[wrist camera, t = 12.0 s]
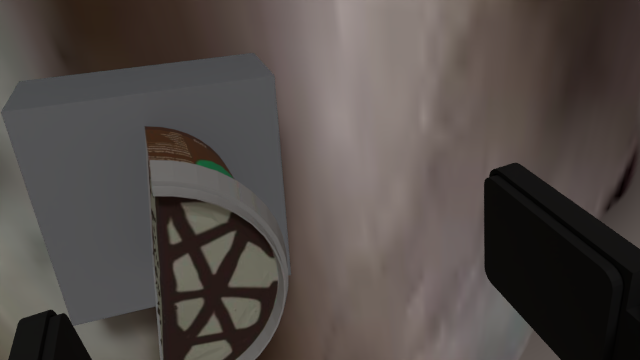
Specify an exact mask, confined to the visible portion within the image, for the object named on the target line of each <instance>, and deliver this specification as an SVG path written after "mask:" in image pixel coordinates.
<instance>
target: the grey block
mask: <svg viewBox="0 0 640 360" xmlns="http://www.w3.org/2000/svg"><path fill="white" fill-rule="evenodd" d="M1 114H2V117H3V120H4V123H5V126H6V128H7V131H8V134H9V137H10V140H11V143H12V146H13V149H14V152H15V155H16V158H17V161H18V164H19V167H20V170H21V173H22V176H23V179H24V182H25V185H26V188H27V191H28V194H29V197H30V200H31V203H32V206H33V209H34V212H35V215H36V218H37V221H38V224H39V227H40V230H41V233H42V236H43V239H44V241H45V244H46V247H47V250H48V253H49V256H50V259H51V262H52V265H53V268H54V271H55V274H56V277H57V280H58V283H59V286H60V289H61V292H62V295H63V298H64V301H65V304H66V307H67V310H68V313H69V316H70V319H71V322H72V325H73V326H74V325H79V324H83V323H87V322H92V321H96V320H100V319H104V318H109V317H113V316H117V315H121V314H126V313H130V312H134V311H138V310H143V309H147V308H151V307H155V306H156V301H155V289H154V277H153V264H152V247H151V230H150V213H149V196H148V179H147V162H146V145H145V128H144V126H150V127H164V128H170V129H175V130H178V131H181V132H184V133H187V134H190V135H192V136H194V137H196V138H198V139H200V140H201V141H203V142H204V143H205V144H207V145H208V146H210V147H211V148H212V149H213V150H214V151H215V152H216V153H217V154H218V155H219V156H220V158H221V159H222V160H223V162H224V163H225V165H226V166H227V168H228V169H229V171H230V173H231V174H232V176H233V178H234V179H235V180H237V181H238V182H240V183H241V184H242V185H244V186H245V187H247V188H248V189H249V190H251V191H252V192H253V193H254V194H255V195H256V196H257V197H258V198H259V199H260V200H261V201H262V202H263V203H264V204H265V205H266V206H267V207H268V209H269V210H270V212H271V213H272V215H273V216H274V218H275V219H276V221H277V223H278V226H279V228H280V230H281V233H282V235H283V239H284V243H285V248H286V253H287V264H288V275H291V270H290V258H289V246H288V234H287V222H286V210H285V198H284V186H283V174H282V162H281V150H280V138H279V126H278V114H277V102H276V90H275V78H274V75H273V74H272V73H271V71H270V70H269V69H268V68H267V67H266V66H265V65H264V64H263V63H262V62H261V60H260V59H259V58H258V57H257V56H256V55H255V54H254V53H250V54H241V55H233V56H225V57H217V58H209V59H200V60H192V61H184V62H176V63H167V64H159V65H151V66H143V67H134V68H126V69H118V70H110V71H101V72H93V73H85V74H77V75H69V76H60V77H52V78H44V79H36V80H27V81H19V83H18V84H17V86H16V88H15V90H14V91H13V93H12V95H11V96H10V98H9V100H8V101H7V103H6V105H5V106H4V108H3V110H2V112H1Z"/></svg>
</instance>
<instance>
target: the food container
mask: <svg viewBox="0 0 640 360" xmlns="http://www.w3.org/2000/svg"><path fill="white" fill-rule="evenodd" d="M144 128H145V145H146V162H147V179H148V196H149V213H150V230H151V247H152V264H153V277H154V289H155V301H156V313H157V325H158V337H159V349H160V360H255V359H256V358H257V357H258V356H259V355H260V354H261V352H262V351H263V350H264V348H265V347H266V346H267V344H268V343H269V342H270V340H271V338H272V336H273V335H274V333H275V331H276V329H277V327H278V325H279V322H280V319H281V316H282V313H283V310H284V305H285V303H286V297H287V291H288V264H287V253H286V248H285V243H284V239H283V235H282V233H281V230H280V228H279V226H278V223H277V221H276V219H275V218H274V216H273V215H272V213H271V212H270V210H269V209H268V207H267V206H266V205H265V204H264V203H263V202H262V201H261V200H260V199H259V198H258V197H257V196H256V195H255V194H254V193H253V192H252V191H251V190H249V189H248V188H247V187H245V186H244V185H242V184H241V183H240V182H238V181H237V180H235V179H234V178H233V176H232V174H231V173H230V171H229V169H228V168H227V166H226V165H225V163H224V162H223V160H222V159H221V158H220V156H219V155H218V154H217V153H216V152H215V151H214V150H213V149H212V148H211V147H210V146H208V145H207V144H205V143H204V142H203V141H201V140H200V139H198V138H196V137H194V136H192V135H190V134H187V133H184V132H181V131H178V130H175V129H170V128H164V127H150V126H144Z"/></svg>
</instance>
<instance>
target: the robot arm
mask: <svg viewBox="0 0 640 360" xmlns="http://www.w3.org/2000/svg"><path fill="white" fill-rule="evenodd" d="M484 247H485V272H486V275H487V277H488V279H489V281H490V282H491V283H492V284H493V286H494V287H495V288H496V289H497V290H498V291H499V292H500V293H501V294H502V295H503V297H504V298H505V299H506V300H507V301H508V302H509V303H510V304H511V305H512V306H513V308H514V309H515V310H516V311H517V312H518V313H519V314H520V315H521V316H522V317H523V319H524V320H525V321H526V322H527V323H528V324H529V325H530V326H531V327H532V328H533V329H534V331H535V332H536V333H537V334H538V335H539V336H540V337H541V338H542V339H543V340H544V342H545V343H546V344H547V345H548V346H549V347H550V348H551V349H552V350H553V351H554V353H555V354H556V355H557V356H558V357H559V358H560V359H561V360H640V249H639V248H637V247H636V246H635V245H633V244H632V243H630V242H628V240H626V239H625V238H623V237H622V236H620V235H619V234H618V233H616V232H615V231H613V230H612V229H610V228H609V227H608V226H606V225H605V224H604V223H602V222H601V221H599V220H598V219H596V218H595V217H594V216H592V215H591V214H589V213H588V212H587V211H585V210H584V209H582V208H581V207H580V206H578V205H577V204H575V203H574V202H573V201H571V200H570V199H568V198H567V197H565V196H564V195H563V194H561V193H560V192H558V191H557V190H556V189H554V188H553V187H551V186H550V185H549V184H547V183H546V182H544V181H543V180H541V179H540V178H539V177H537V176H536V175H534V174H533V173H532V172H530V171H529V170H527V169H526V168H525V167H523V166H522V165H520V164H518V163H512V164H509V165H506V166H503V167H499V168H496V169H493V170H492V171H491V172H490V175H489V178H487V179H485V182H484ZM8 360H92V359H91V357H90V355H89V354H88V352H87V350H86V348H85V347H84V345H83V343H82V341H81V339H80V338H79V336H78V334H77V332H76V330H75V329H74V327H73V325H72V323H71V321H70V320H69V318H68V317H67V315H66V314H64V313H62V314H59V315H57V314H56V313H55V312H54V311H53V310H48V311H45V312H42V313H38V314H35V315H32V316H29V317H26V318H23V319H21V320H20V321H19V323H18V326H17V329H16V333H15V337H14V341H13V344H12V348H11V352H10V356H9V359H8Z"/></svg>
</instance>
